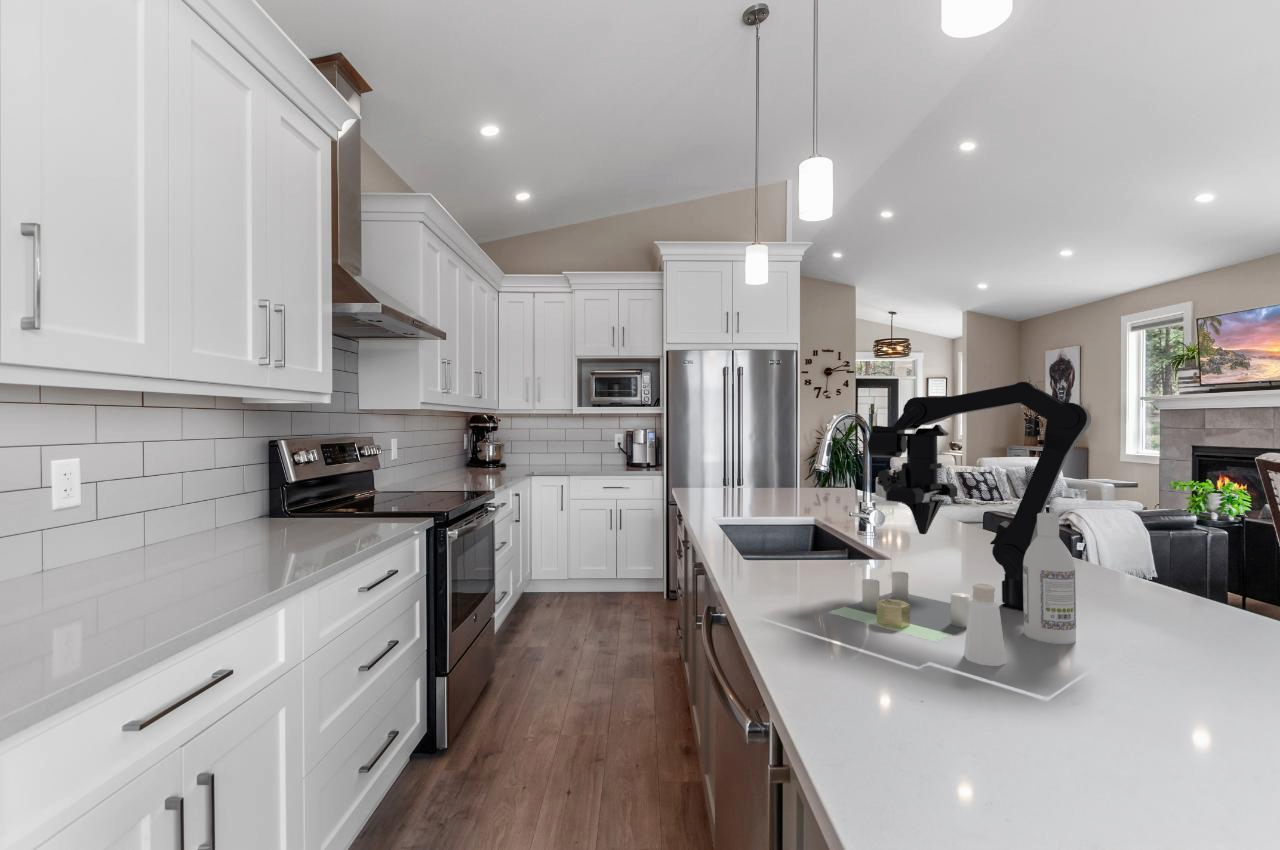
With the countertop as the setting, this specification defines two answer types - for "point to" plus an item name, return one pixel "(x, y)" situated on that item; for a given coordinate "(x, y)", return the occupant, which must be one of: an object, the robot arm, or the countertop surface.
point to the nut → (893, 613)
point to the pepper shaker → (984, 629)
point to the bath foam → (1049, 586)
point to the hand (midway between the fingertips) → (922, 533)
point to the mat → (911, 617)
